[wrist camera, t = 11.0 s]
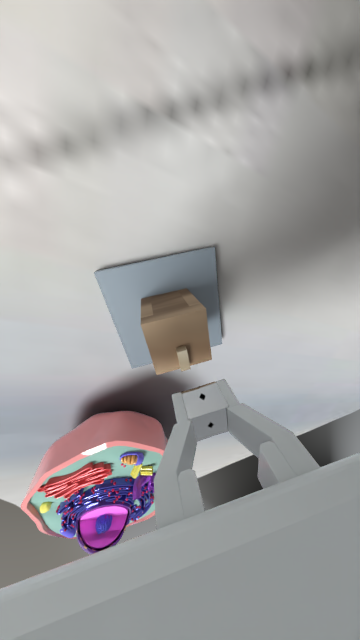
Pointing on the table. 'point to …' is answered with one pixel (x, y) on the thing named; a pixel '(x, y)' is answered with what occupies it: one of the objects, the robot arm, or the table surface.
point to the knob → (175, 330)
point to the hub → (153, 279)
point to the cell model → (98, 479)
